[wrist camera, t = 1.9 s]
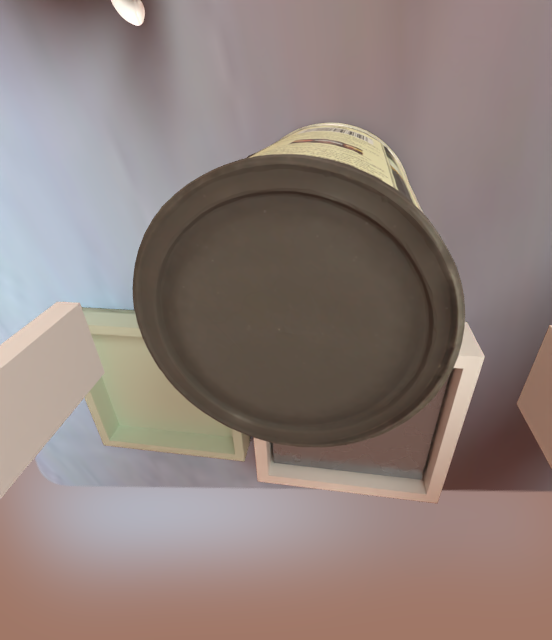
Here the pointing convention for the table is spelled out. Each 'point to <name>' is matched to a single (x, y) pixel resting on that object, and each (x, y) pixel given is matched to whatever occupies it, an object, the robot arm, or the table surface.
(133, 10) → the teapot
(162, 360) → the coffee can
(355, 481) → the checker cradle
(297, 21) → the table surface
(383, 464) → the plate
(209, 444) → the tray
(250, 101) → the table surface
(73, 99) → the table surface
